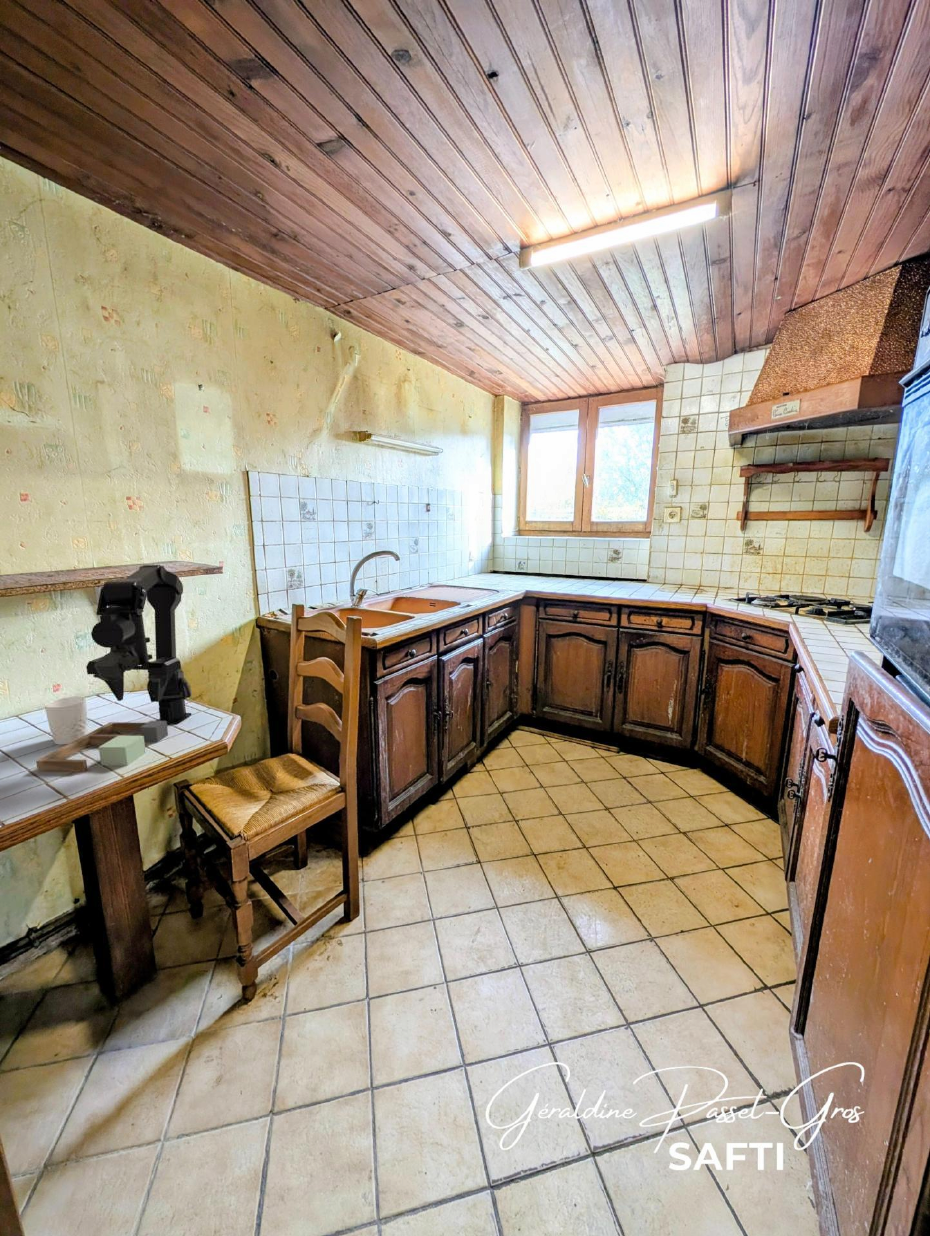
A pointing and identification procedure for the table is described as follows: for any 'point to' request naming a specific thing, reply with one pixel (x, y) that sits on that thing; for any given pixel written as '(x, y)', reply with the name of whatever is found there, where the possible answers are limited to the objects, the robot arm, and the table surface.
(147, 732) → the slate grey cube
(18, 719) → the table surface
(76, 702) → the white cup
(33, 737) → the table surface
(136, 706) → the table surface
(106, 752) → the sage green block
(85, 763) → the walnut slot rack
